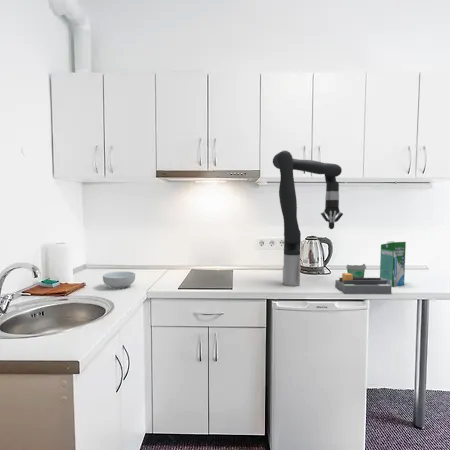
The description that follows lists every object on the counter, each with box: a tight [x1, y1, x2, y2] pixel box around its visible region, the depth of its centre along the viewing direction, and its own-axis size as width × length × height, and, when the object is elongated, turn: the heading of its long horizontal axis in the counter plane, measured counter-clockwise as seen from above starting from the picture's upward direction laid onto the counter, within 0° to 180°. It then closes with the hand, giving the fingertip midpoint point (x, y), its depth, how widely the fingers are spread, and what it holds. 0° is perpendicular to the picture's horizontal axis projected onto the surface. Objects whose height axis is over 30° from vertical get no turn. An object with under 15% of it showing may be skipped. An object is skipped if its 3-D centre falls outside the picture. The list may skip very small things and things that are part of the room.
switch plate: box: [334, 277, 392, 295], centre depth 175 cm, size 24×14×6 cm, turn 90°
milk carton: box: [379, 240, 407, 287], centre depth 189 cm, size 9×9×25 cm
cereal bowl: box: [102, 270, 136, 290], centre depth 181 cm, size 17×17×7 cm
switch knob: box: [341, 272, 353, 282], centre depth 175 cm, size 4×4×4 cm
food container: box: [345, 263, 367, 278], centre depth 195 cm, size 12×6×10 cm, turn 105°
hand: (331, 228), depth 193 cm, fingers closed
